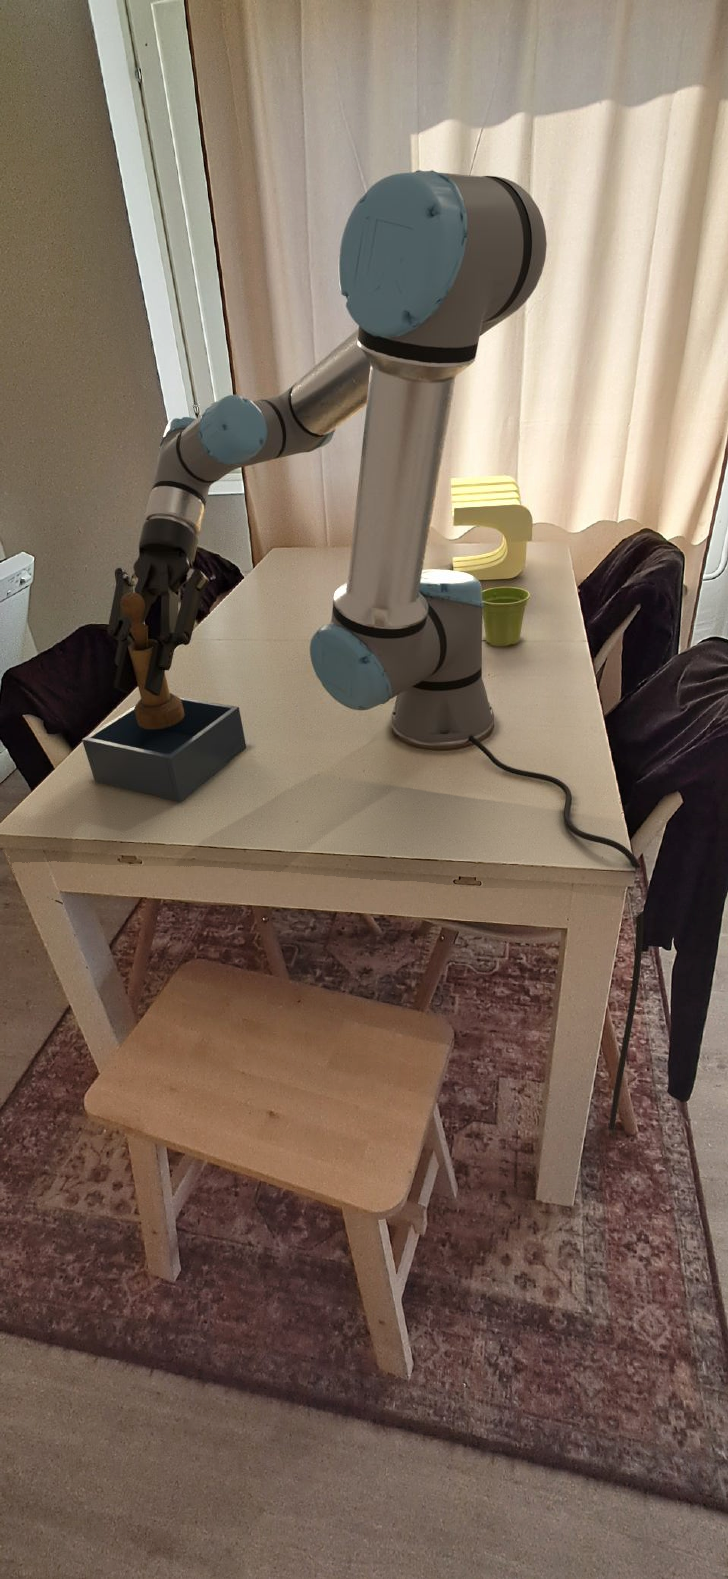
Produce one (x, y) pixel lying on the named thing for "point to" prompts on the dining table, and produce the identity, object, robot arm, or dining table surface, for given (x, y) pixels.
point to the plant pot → (503, 614)
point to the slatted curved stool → (492, 524)
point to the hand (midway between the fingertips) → (136, 690)
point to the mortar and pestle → (150, 707)
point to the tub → (166, 750)
